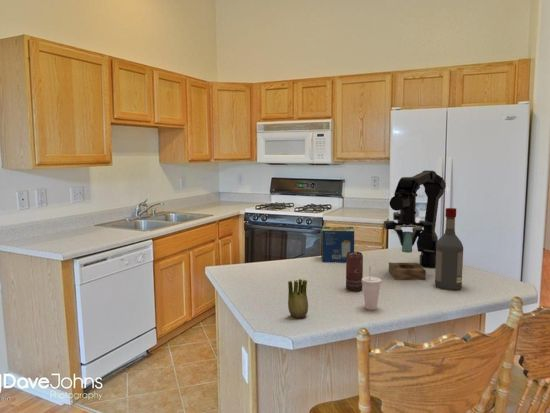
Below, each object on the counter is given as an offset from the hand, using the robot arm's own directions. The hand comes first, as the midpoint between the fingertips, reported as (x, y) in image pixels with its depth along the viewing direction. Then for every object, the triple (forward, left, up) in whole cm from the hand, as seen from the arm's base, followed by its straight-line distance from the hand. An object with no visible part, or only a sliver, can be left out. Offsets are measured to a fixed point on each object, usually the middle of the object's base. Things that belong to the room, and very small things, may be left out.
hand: (407, 245), depth 170 cm
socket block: (0, 0, -13) cm, 13 cm away
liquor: (-12, +14, -13) cm, 23 cm away
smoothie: (+21, +37, -13) cm, 45 cm away
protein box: (+26, -26, -13) cm, 39 cm away
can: (+24, +18, -13) cm, 33 cm away
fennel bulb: (+45, +45, -13) cm, 65 cm away
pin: (0, 0, -2) cm, 2 cm away
